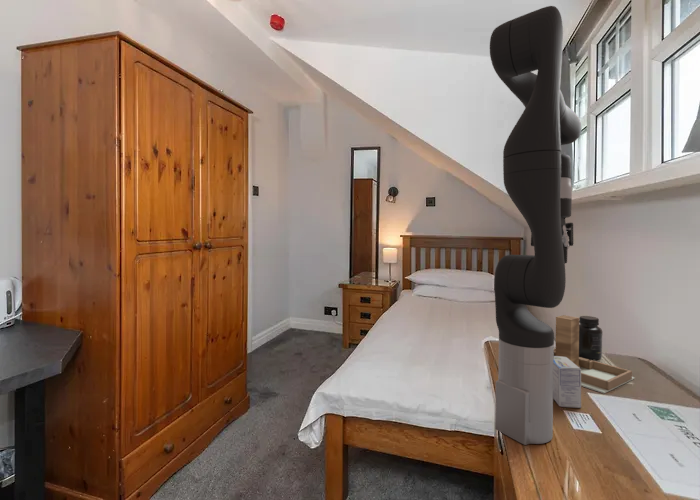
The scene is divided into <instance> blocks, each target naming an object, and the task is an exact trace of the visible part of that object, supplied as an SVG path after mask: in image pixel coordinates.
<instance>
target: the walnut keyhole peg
mask: <svg viewBox="0 0 700 500" xmlns="http://www.w3.org/2000/svg"><path fill="white" fill-rule="evenodd" d="M579 318H580V317H577V316H570V315H566V314H563V315H559V316H558V315H557V316H555V349H556V356H562V357H567V358H568V359H569V360H571V361H572V362H573V363H574V364H575V365H577V366H578V367H579V368H580V366H579V324H580V323H579Z"/></svg>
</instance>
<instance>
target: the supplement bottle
mask: <svg viewBox="0 0 700 500" xmlns="http://www.w3.org/2000/svg"><path fill="white" fill-rule="evenodd" d="M578 318H579V357H581V358H585V359H589V360H590V361H591V360H593V361H599V360H601V359H602V358H603V330H602V328H601V327H599V324H600V323H599V322H600V321H599V318H598V317H595V316H591V315H579V317H578Z"/></svg>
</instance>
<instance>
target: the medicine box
mask: <svg viewBox="0 0 700 500" xmlns="http://www.w3.org/2000/svg"><path fill="white" fill-rule="evenodd" d="M553 401H555V403H556V404H557V405H558V407H562V408H572V409H573V408H574V409H575V408H576V409H581V408H582V386H581V369H580V368H579V367H578V366H577V365H575V364H574V363H573V362H572V361H571V360H569V359H568V358H567V357H562V356H554V361H553Z"/></svg>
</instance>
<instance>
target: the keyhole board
mask: <svg viewBox="0 0 700 500" xmlns="http://www.w3.org/2000/svg"><path fill="white" fill-rule="evenodd" d="M554 356H556V348H554ZM579 366H580V369H581V387H583V388H586V389H589V390H592V391H594V392H598V393H601V394H604V395H605V394H606V393H608V392H611V391H613V390H615V389H616V388H619V387H621V386H623V385H625V384H627V383H629V382H631V381H632V380H635V378H636V377H634V376H633V370H629V369H625V368H623V367H618V366H615V365H611V364H608V363H607V364H606V363H603V362H600V361H598V360H589V359H585V358H581V357H579Z"/></svg>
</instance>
